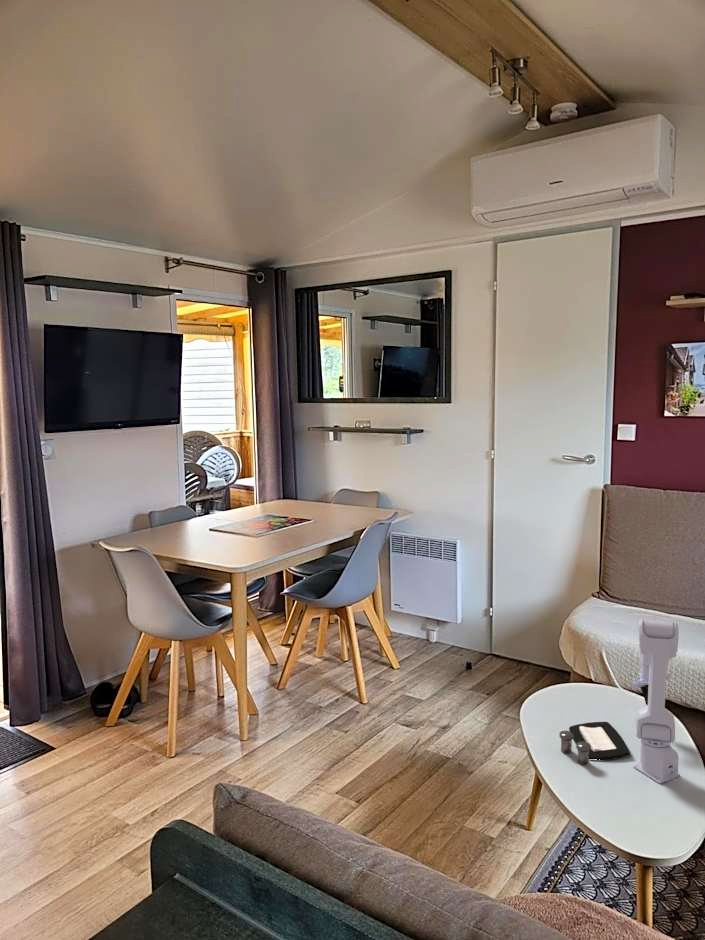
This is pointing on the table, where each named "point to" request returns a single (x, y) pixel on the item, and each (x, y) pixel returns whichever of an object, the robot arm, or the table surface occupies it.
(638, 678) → the robot arm
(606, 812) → the table surface
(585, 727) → the light switch
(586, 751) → the metal bosses
